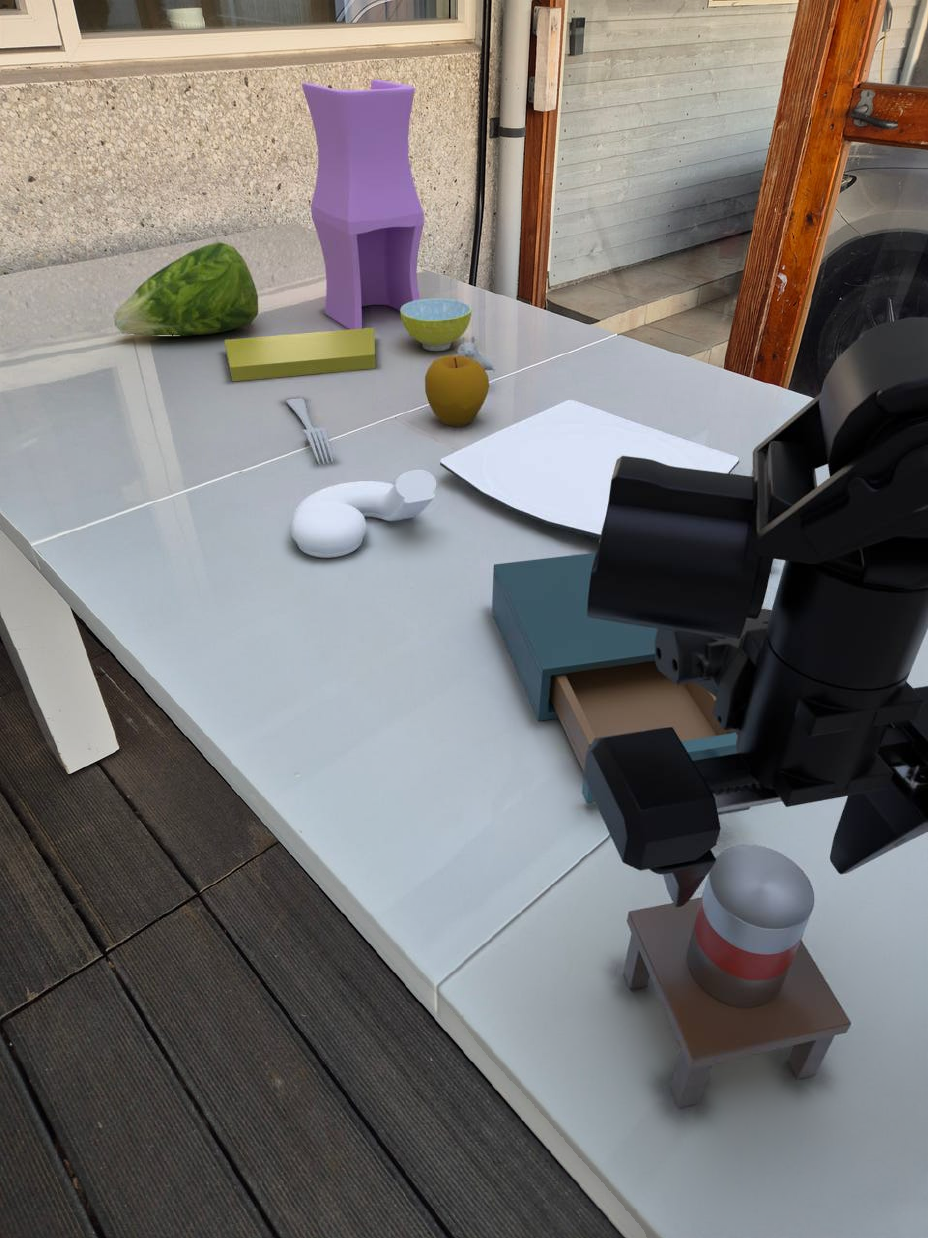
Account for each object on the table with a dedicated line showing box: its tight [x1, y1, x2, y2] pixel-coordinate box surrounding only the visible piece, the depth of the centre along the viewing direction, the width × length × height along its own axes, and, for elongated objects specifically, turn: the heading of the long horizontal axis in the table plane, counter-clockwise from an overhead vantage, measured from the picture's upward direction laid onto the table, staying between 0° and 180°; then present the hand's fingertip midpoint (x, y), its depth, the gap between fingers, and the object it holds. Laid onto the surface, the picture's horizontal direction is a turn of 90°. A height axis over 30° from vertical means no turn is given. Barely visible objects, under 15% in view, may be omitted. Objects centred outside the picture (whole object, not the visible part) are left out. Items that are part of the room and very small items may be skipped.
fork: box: [285, 397, 334, 466], centre depth 118 cm, size 3×21×3 cm, turn 20°
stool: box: [623, 897, 852, 1110], centre depth 51 cm, size 9×9×6 cm
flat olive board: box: [224, 327, 376, 382], centre depth 139 cm, size 12×2×24 cm
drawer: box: [549, 661, 751, 816], centre depth 69 cm, size 19×13×4 cm
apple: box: [424, 355, 490, 427], centre depth 119 cm, size 8×8×9 cm
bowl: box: [399, 297, 473, 352], centre depth 143 cm, size 11×12×6 cm
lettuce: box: [113, 241, 259, 338], centre depth 145 cm, size 14×23×13 cm, turn 111°
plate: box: [439, 399, 740, 540], centre depth 107 cm, size 29×29×3 cm
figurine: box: [455, 336, 496, 372], centre depth 129 cm, size 8×6×8 cm
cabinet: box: [491, 552, 658, 722], centre depth 79 cm, size 16×15×6 cm
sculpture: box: [290, 469, 437, 559], centre depth 96 cm, size 12×15×8 cm
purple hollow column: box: [301, 79, 425, 330], centre depth 147 cm, size 14×14×35 cm
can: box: [687, 844, 815, 1008], centre depth 47 cm, size 5×5×7 cm
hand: (757, 882), depth 46 cm, fingers open, 9 cm apart
